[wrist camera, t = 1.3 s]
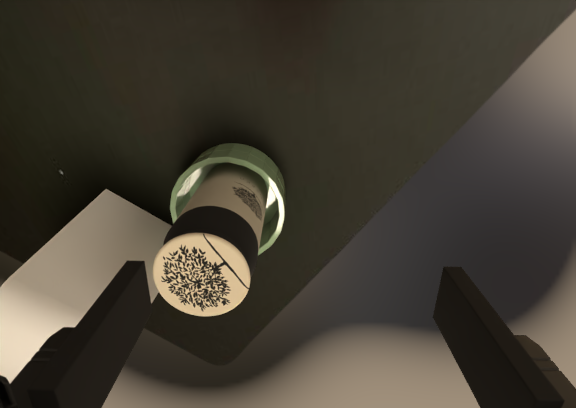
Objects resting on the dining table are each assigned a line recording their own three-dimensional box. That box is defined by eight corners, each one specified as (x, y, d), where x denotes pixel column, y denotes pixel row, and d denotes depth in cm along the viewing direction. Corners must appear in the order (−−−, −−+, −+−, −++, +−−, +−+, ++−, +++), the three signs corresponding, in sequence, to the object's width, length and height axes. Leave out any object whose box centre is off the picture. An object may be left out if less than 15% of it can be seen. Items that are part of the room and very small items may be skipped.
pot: (169, 207, 46) (152, 229, 40) (212, 123, 42) (200, 134, 36) (255, 252, 48) (250, 278, 43) (304, 176, 44) (305, 194, 38)
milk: (192, 237, 47) (90, 430, 23) (153, 298, 51) (31, 517, 27) (106, 188, 45) (-108, 348, 21) (71, 256, 49) (-143, 456, 25)
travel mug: (222, 232, 47) (183, 332, 30) (190, 178, 44) (127, 256, 27) (278, 207, 45) (270, 299, 29) (249, 150, 43) (221, 215, 26)
